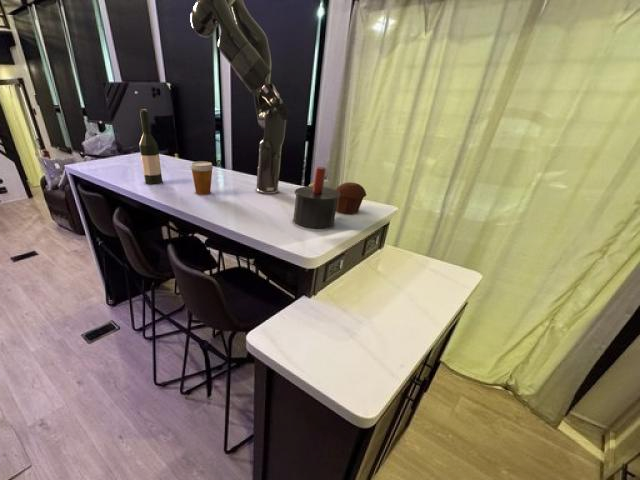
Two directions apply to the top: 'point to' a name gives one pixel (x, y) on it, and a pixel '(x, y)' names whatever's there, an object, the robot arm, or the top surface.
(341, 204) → the muffin
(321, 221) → the pot
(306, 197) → the lid
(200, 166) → the disposable coffee cup
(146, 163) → the wine bottle
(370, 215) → the top surface
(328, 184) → the ceramic mug
